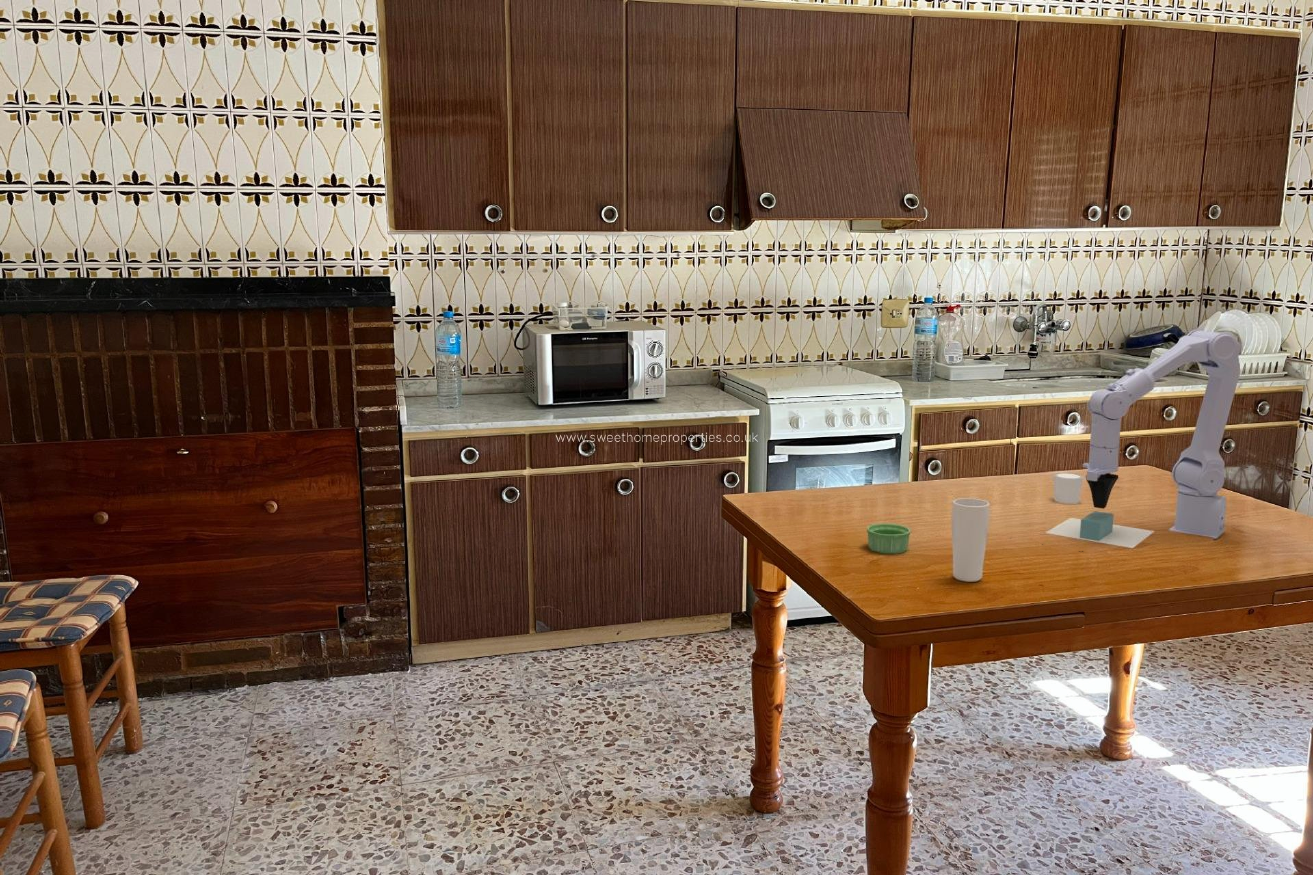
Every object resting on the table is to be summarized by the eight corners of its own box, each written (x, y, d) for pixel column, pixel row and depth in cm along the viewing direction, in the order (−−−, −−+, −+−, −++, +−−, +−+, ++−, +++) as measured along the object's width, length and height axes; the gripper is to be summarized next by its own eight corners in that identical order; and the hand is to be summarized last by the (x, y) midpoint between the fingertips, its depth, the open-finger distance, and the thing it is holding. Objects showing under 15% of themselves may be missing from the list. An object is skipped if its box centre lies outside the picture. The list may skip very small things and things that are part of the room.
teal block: (1113, 513, 220) (1100, 522, 214) (1112, 531, 221) (1099, 540, 215) (1094, 510, 223) (1080, 519, 216) (1093, 528, 224) (1079, 537, 217)
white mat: (1154, 533, 221) (1154, 531, 221) (1132, 550, 209) (1132, 547, 209) (1070, 520, 233) (1070, 517, 233) (1045, 535, 221) (1045, 532, 221)
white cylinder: (1076, 500, 251) (1078, 472, 250) (1085, 507, 244) (1087, 478, 243) (1048, 499, 252) (1049, 472, 250) (1056, 506, 245) (1057, 478, 244)
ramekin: (915, 546, 214) (916, 526, 213) (902, 557, 207) (903, 537, 206) (874, 540, 219) (874, 520, 218) (860, 551, 211) (860, 531, 210)
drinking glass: (978, 572, 197) (982, 497, 194) (991, 583, 190) (995, 506, 187) (944, 572, 197) (947, 498, 194) (955, 584, 190) (959, 506, 187)
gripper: (1096, 438, 224) (1091, 498, 227) (1073, 448, 214) (1069, 511, 216) (1129, 442, 220) (1124, 503, 222) (1108, 453, 209) (1103, 516, 212)
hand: (1099, 507), depth 219 cm, fingers closed
